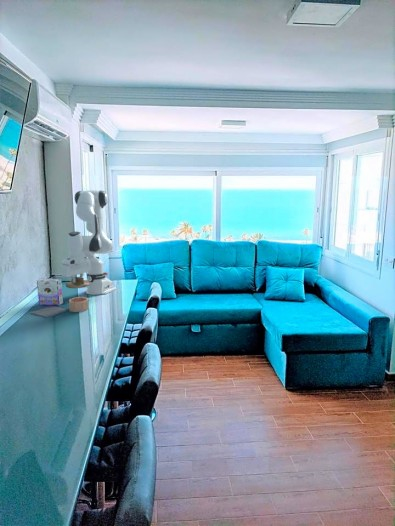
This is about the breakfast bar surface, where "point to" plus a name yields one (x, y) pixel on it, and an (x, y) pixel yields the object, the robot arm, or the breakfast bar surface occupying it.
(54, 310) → the charcoal mat
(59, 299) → the candy box
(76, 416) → the breakfast bar surface
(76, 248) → the robot arm
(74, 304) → the terracotta bowl
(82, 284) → the walnut lid
